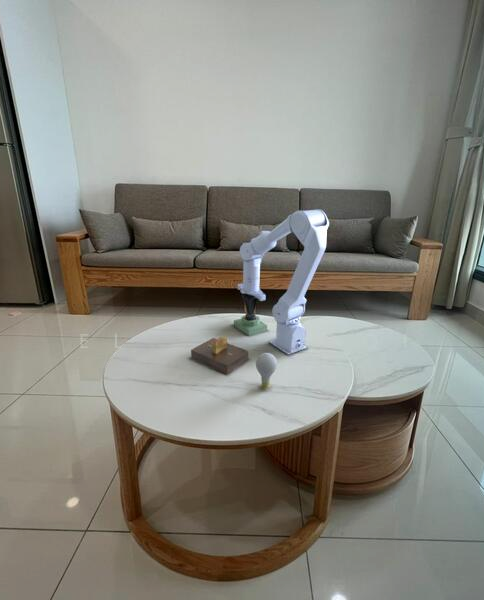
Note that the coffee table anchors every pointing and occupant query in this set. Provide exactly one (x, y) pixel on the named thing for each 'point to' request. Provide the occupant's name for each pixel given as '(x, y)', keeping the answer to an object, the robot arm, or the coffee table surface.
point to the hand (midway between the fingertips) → (250, 313)
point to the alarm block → (250, 325)
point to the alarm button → (250, 317)
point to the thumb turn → (219, 344)
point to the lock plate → (220, 356)
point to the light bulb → (266, 367)
